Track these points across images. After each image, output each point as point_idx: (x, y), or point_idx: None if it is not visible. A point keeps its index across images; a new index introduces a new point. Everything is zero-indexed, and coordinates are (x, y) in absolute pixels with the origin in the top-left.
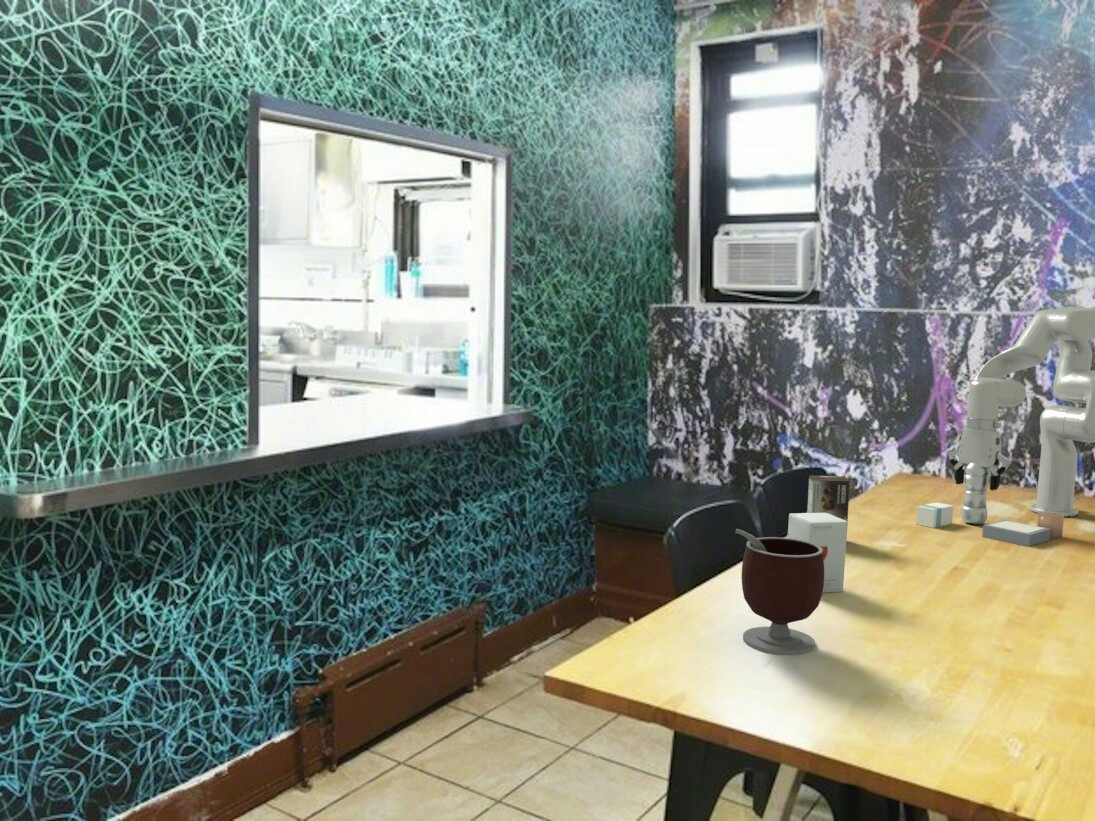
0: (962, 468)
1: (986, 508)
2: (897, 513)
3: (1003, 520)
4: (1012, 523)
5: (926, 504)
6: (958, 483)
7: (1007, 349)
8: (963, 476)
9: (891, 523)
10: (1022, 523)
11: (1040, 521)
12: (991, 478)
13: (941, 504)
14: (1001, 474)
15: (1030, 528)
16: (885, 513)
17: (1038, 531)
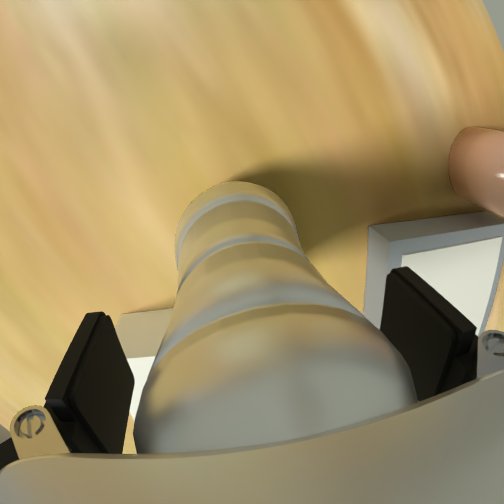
0: (79, 438)
1: (294, 229)
2: (18, 339)
3: (391, 260)
4: (430, 284)
5: (134, 419)
6: (134, 381)
7: None
8: (96, 359)
9: (131, 439)
10: (451, 248)
11: (496, 213)
12: (423, 398)
13: (147, 376)
14: (500, 341)
15: (477, 289)
16: (18, 367)
17: (492, 293)
